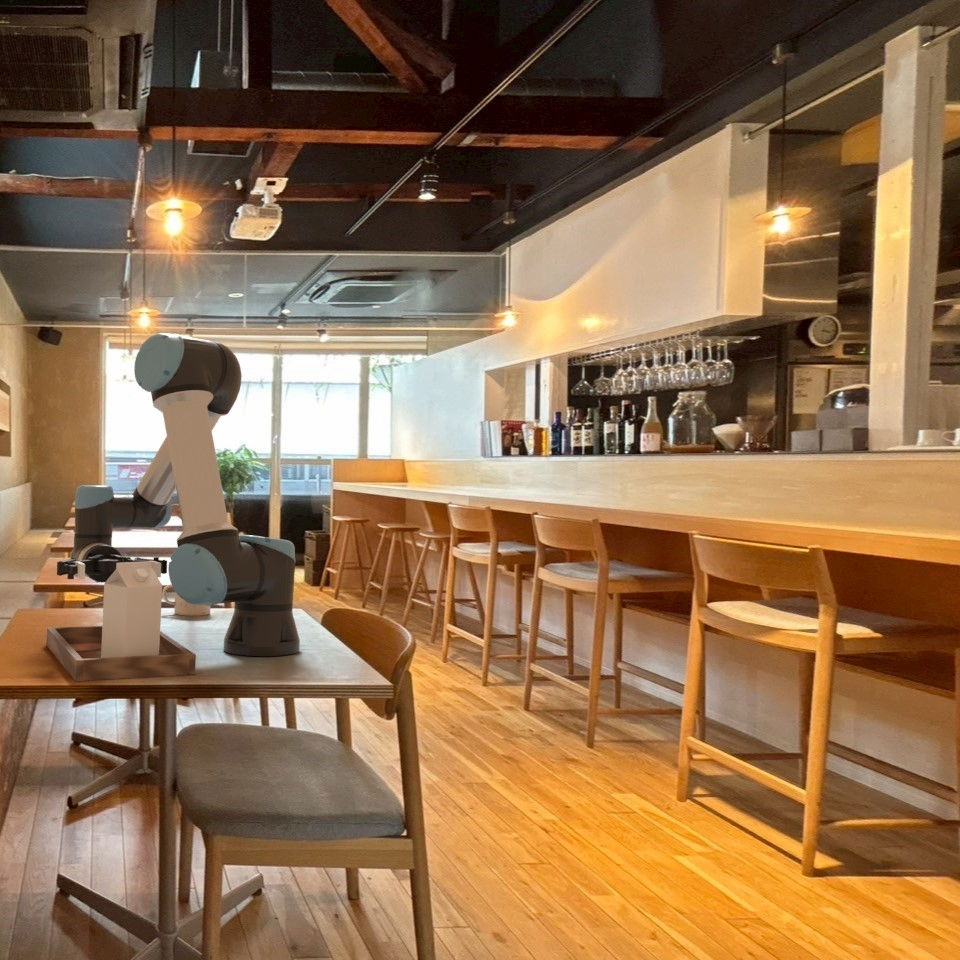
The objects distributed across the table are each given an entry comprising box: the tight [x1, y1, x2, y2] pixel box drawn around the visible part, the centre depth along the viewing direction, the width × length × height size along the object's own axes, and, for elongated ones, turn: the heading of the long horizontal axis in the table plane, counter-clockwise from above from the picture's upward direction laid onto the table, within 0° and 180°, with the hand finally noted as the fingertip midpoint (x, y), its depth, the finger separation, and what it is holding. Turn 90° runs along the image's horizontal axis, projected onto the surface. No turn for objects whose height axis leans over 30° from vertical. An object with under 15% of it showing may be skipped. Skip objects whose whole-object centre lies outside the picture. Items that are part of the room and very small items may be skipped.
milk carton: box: [100, 561, 163, 658], centre depth 183 cm, size 7×7×19 cm
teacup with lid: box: [162, 583, 211, 617], centre depth 255 cm, size 12×9×12 cm
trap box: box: [46, 625, 197, 682], centre depth 193 cm, size 20×36×4 cm, turn 30°
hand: (121, 570), depth 191 cm, fingers open, 13 cm apart
